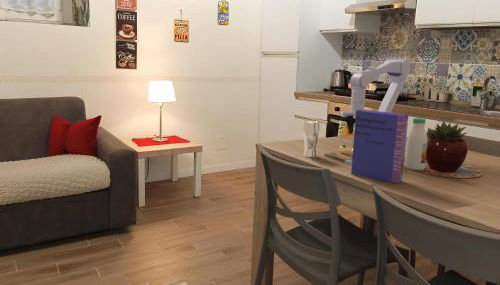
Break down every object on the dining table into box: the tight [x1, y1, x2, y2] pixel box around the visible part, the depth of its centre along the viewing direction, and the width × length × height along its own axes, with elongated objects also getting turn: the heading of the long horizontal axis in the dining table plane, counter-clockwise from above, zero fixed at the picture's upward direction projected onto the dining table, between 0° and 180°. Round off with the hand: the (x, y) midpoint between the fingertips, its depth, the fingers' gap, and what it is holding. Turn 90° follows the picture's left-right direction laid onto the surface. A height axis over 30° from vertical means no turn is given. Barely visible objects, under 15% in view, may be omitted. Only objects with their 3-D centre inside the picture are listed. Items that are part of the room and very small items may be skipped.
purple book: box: [350, 109, 410, 185], centre depth 159 cm, size 17×5×24 cm, turn 50°
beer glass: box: [303, 120, 321, 158], centre depth 192 cm, size 7×7×15 cm
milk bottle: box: [403, 117, 428, 171], centre depth 176 cm, size 8×8×20 cm
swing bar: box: [338, 144, 353, 156], centre depth 192 cm, size 12×4×3 cm, turn 28°
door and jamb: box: [323, 151, 352, 166], centre depth 187 cm, size 18×26×4 cm
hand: (354, 133), depth 193 cm, fingers open, 4 cm apart
